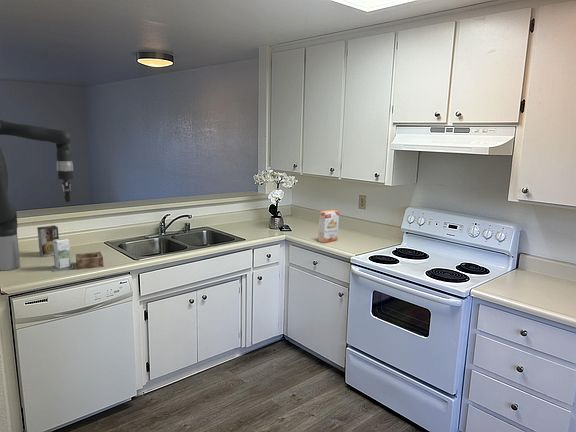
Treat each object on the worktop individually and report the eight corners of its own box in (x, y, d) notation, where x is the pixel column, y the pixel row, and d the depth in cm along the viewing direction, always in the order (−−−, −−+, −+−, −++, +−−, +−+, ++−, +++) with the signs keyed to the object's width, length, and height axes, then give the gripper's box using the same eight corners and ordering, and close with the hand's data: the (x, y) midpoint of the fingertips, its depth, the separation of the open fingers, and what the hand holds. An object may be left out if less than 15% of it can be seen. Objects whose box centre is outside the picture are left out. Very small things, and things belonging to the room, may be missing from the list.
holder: (77, 269, 210) (77, 260, 210) (76, 263, 221) (75, 254, 220) (103, 266, 216) (102, 257, 216) (100, 260, 227) (100, 251, 226)
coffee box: (57, 252, 241) (54, 225, 238) (60, 254, 236) (58, 226, 233) (39, 254, 234) (36, 227, 231) (42, 257, 230) (40, 228, 227)
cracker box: (324, 243, 278) (325, 212, 275) (317, 241, 283) (319, 211, 279) (338, 240, 287) (339, 210, 284) (331, 238, 292) (333, 209, 288)
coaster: (52, 271, 206) (52, 270, 206) (52, 266, 214) (52, 265, 214) (73, 269, 211) (73, 268, 211) (72, 264, 218) (72, 263, 218)
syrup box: (66, 264, 216) (64, 237, 214) (71, 267, 212) (69, 239, 210) (54, 266, 212) (52, 239, 209) (59, 269, 208) (56, 241, 206)
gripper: (56, 168, 219) (58, 199, 222) (57, 170, 207) (59, 202, 210) (72, 168, 223) (74, 198, 226) (74, 170, 211) (76, 202, 214)
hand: (67, 200), depth 218 cm, fingers open, 8 cm apart
